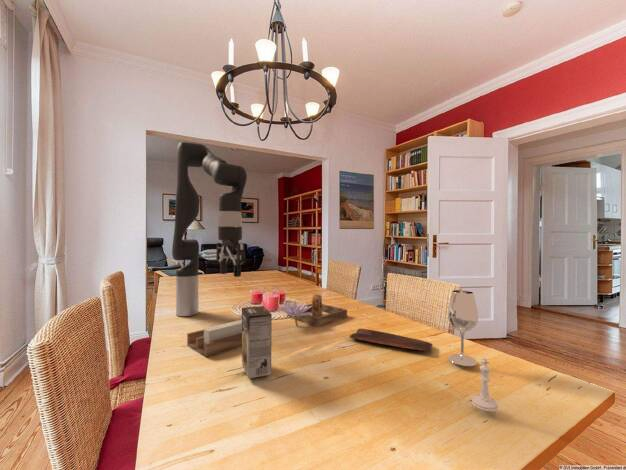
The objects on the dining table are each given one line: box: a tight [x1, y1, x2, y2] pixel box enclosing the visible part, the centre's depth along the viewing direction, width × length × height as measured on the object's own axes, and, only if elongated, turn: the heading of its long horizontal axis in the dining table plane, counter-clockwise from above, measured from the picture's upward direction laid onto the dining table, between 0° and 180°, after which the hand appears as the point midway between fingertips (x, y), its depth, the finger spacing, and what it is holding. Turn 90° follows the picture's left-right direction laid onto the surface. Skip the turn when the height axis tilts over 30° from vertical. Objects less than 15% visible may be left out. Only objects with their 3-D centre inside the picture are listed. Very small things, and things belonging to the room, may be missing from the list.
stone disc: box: [311, 294, 323, 317], centre depth 130 cm, size 10×4×10 cm, turn 168°
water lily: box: [278, 301, 312, 327], centre depth 118 cm, size 15×15×9 cm
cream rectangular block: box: [203, 319, 242, 348], centre depth 98 cm, size 4×16×6 cm, turn 136°
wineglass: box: [447, 289, 479, 367], centre depth 86 cm, size 8×8×20 cm
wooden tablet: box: [349, 328, 433, 352], centre depth 101 cm, size 26×2×10 cm
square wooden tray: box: [286, 303, 348, 328], centre depth 130 cm, size 18×18×4 cm
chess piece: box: [471, 357, 499, 412], centre depth 64 cm, size 5×5×10 cm
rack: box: [186, 329, 242, 359], centre depth 100 cm, size 14×20×4 cm
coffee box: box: [241, 305, 273, 379], centre depth 81 cm, size 9×6×16 cm
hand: (230, 275), depth 98 cm, fingers open, 8 cm apart
